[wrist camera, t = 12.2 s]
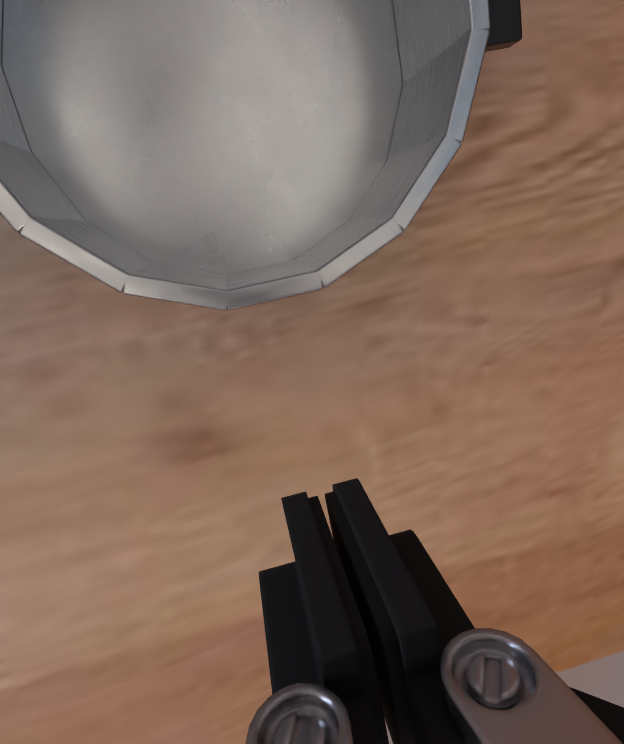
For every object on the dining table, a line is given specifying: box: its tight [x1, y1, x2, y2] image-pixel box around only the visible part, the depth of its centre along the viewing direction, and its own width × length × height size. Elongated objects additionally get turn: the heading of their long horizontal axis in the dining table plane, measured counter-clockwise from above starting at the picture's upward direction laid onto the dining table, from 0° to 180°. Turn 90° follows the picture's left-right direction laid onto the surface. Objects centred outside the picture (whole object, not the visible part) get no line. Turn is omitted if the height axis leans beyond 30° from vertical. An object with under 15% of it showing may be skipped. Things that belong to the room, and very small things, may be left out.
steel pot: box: [0, 0, 522, 310], centre depth 15 cm, size 15×18×6 cm
